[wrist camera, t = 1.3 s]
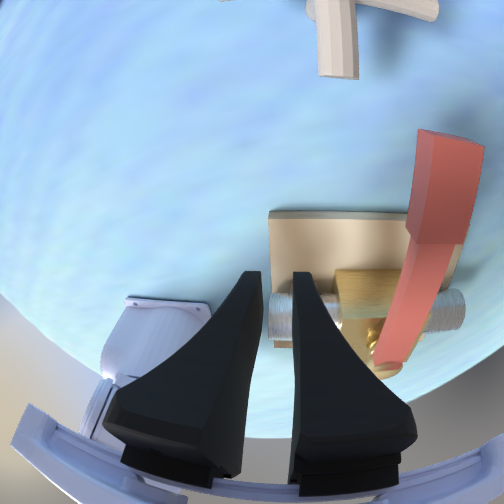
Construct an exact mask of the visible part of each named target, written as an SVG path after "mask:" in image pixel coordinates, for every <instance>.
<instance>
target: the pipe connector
mask: <svg viewBox="0 0 504 504" xmlns="http://www.w3.org/2000/svg"><path fill="white" fill-rule="evenodd" d="M219 1H221V2H223V1H231V0H219ZM355 3H356V4H362V5H367V6H372V7H377V8H382V9H386V10H390V11H394V12H398V13H402V14H405V15H409V16H412V17H415V18H418V19H421V20H425V21H427V22H433V21H435V20H436V19H437V16H438V13H439V3H438V1H437V0H307V2H306V6H305V12H306V14H307V16H308V17H309V18H310V19H311V20H313V21H315V22H316V27H317V45H318V74H319V76H321V77H330V78H340V79H353V80H359V52H358V32H357V19H356V8H355Z"/></svg>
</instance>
